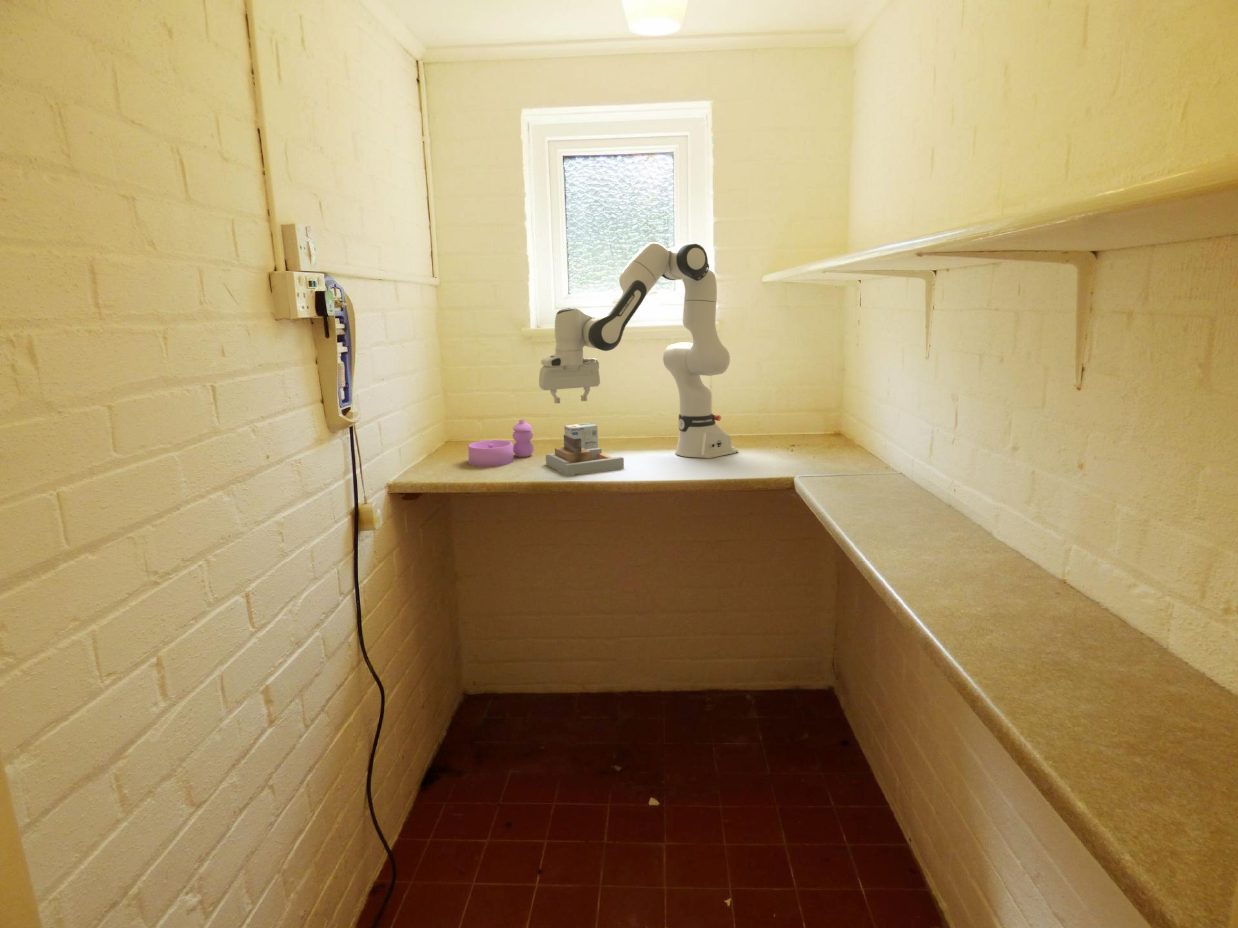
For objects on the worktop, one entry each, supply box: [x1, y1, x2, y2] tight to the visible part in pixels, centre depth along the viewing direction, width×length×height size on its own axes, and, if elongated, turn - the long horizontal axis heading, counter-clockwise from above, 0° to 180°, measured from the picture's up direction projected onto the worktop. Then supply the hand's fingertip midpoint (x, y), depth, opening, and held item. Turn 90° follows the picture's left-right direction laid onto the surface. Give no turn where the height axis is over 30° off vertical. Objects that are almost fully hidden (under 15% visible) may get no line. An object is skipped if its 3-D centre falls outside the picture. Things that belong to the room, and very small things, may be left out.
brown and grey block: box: [554, 433, 592, 463], centre depth 238 cm, size 8×12×10 cm, turn 27°
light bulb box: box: [563, 422, 599, 449], centre depth 258 cm, size 11×7×11 cm, turn 115°
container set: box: [467, 418, 535, 468], centre depth 252 cm, size 25×15×13 cm, turn 132°
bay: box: [545, 447, 625, 477], centre depth 240 cm, size 20×19×4 cm
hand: (570, 402), depth 234 cm, fingers open, 8 cm apart
